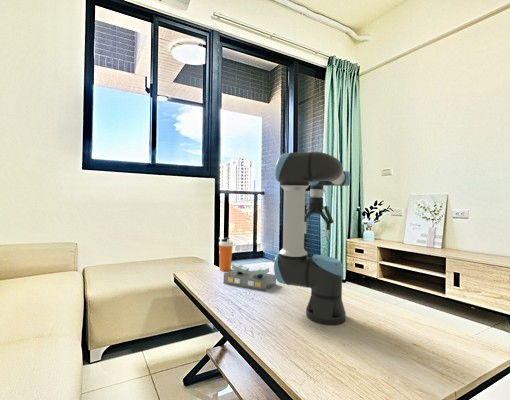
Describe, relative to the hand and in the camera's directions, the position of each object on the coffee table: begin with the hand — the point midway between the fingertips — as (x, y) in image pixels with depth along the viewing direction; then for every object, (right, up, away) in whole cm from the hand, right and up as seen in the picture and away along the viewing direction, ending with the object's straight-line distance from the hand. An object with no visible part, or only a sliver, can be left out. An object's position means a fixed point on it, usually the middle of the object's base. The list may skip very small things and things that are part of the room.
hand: (315, 234), depth 157 cm
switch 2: (-31, -18, -11) cm, 38 cm away
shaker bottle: (-53, -25, +20) cm, 62 cm away
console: (-37, -25, -8) cm, 46 cm away
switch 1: (-42, -18, -6) cm, 46 cm away
